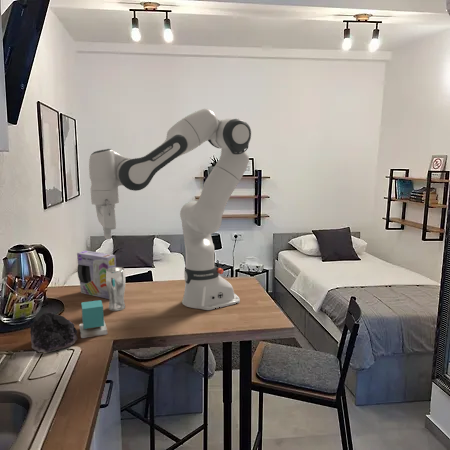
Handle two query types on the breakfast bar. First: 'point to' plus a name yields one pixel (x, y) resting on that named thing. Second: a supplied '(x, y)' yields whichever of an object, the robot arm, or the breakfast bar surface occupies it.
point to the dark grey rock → (52, 333)
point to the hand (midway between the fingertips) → (107, 238)
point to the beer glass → (115, 288)
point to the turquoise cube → (92, 314)
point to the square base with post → (93, 331)
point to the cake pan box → (94, 272)
